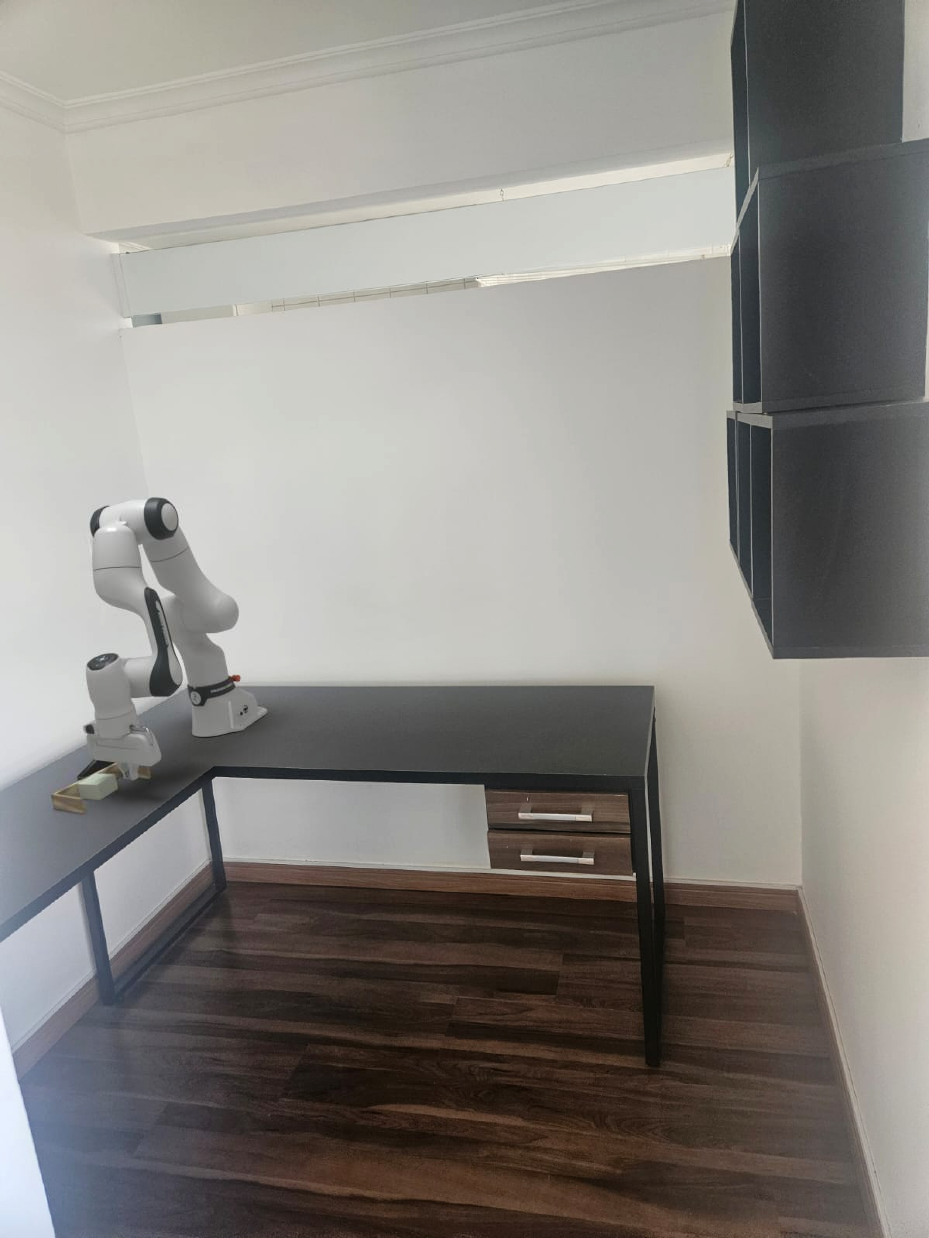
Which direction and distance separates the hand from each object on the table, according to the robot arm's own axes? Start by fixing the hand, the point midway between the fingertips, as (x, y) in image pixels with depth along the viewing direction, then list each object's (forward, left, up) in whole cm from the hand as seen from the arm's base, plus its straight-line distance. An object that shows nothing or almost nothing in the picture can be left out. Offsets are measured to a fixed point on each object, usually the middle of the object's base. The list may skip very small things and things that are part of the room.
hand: (131, 778), depth 203 cm
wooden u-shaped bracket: (+1, -10, -4) cm, 11 cm away
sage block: (+1, -11, -5) cm, 12 cm away
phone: (-11, -25, -5) cm, 28 cm away
